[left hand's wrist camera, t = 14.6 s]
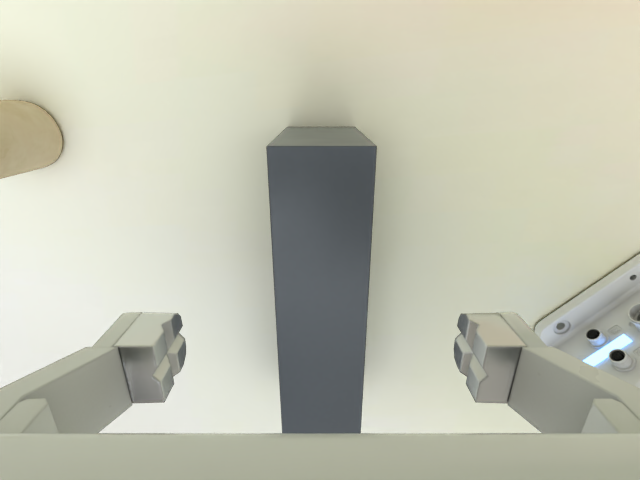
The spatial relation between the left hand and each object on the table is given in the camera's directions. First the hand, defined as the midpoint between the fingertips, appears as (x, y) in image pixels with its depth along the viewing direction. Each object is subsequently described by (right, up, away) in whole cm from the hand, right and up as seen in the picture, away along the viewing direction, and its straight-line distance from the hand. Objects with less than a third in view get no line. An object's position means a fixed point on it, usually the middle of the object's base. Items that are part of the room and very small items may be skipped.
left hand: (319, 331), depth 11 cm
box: (0, -1, +25) cm, 25 cm away
